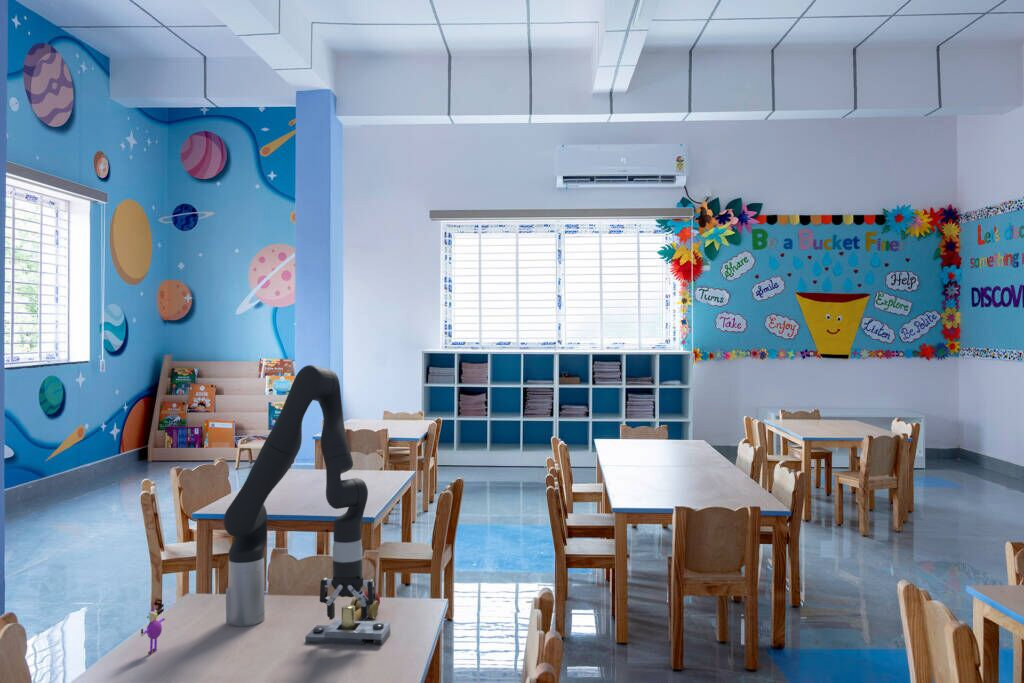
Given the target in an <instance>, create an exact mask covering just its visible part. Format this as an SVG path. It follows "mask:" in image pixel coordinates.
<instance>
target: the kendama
mask: <svg viewBox="0 0 1024 683" xmlns="http://www.w3.org/2000/svg"><path fill="white" fill-rule="evenodd" d="M364 593H365V596H366V597H367V598H368V590H365V591H364ZM375 593H376V601H375V602H374V603H373V604H372V605H369V606H368V612H369V615H368V617H367V618H369V619H372V618H373V617H374V616H375V617H376V616H377V614H378V610H379V606H380V605H381V597H380V595H379V593H378V592H376V591H375ZM349 605H354V606H355V621H360V620H361V607H362V605H361V603H360V602H359V601H358V600H357V599H356V598H355V597H354V596H353V597H352V600H351V602H350V604H349ZM375 617H374V618H375ZM374 618H373V619H374Z"/></svg>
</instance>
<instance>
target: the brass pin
mask: <svg viewBox="0 0 1024 683" xmlns="http://www.w3.org/2000/svg"><path fill="white" fill-rule="evenodd" d="M341 620H342V630H355V606H354V605H350V604H346V605H343V606H342V607H341Z"/></svg>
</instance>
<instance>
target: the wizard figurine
mask: <svg viewBox="0 0 1024 683" xmlns="http://www.w3.org/2000/svg"><path fill="white" fill-rule="evenodd" d="M164 605H165V604H164V603H162V604H161V605H159V606H158V607H157V608H155V607H154V605H152V606H151V609H150V611H148V616H146V618H147V619H148V621H149V622H148V624H147V627H146V630H145V631H144V627H141V630H140V637H143V636H144V635H147V637H148V638H149V640H150V642H149V651H148V652H147V654H148V655H152V654H153V652H157V651H158V649H157V648H158V647H157V646H158V641H157V640H158V638H159V637H160V636H161V634H162V629H163V626H162V624H161V623H162V622H164V621H165V620H166V617H165V616H164V617H162V618H161V619H160V620H158V619H157V618H158V616H159V615H160V614H162V613H163V612H164V609H165V608H163V607H164ZM153 640H154V641H153ZM153 644H154V645H153ZM153 646H154V647H153Z"/></svg>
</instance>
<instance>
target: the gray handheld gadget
mask: <svg viewBox="0 0 1024 683" xmlns="http://www.w3.org/2000/svg"><path fill="white" fill-rule="evenodd" d="M390 635H391V622H390V621H373V620H370V621H369V620H365V621H361V620H359V621H355V630H342V619H340V620H339V619H335V620H333V621H332V623H330V625H326V624H317V625H315V626H314V627H313V629H311V630H310V631H309V632H308V633H307V634H306V636H305V643H307V644H311V643H312V644H335V645H353V646H356V645H358V646H359V645H360V646H362V645H364V644H365V642H366V641H367V640H373V646H383V645H384V643H385V642H386V641H387V639H388V637H389V636H390Z"/></svg>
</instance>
